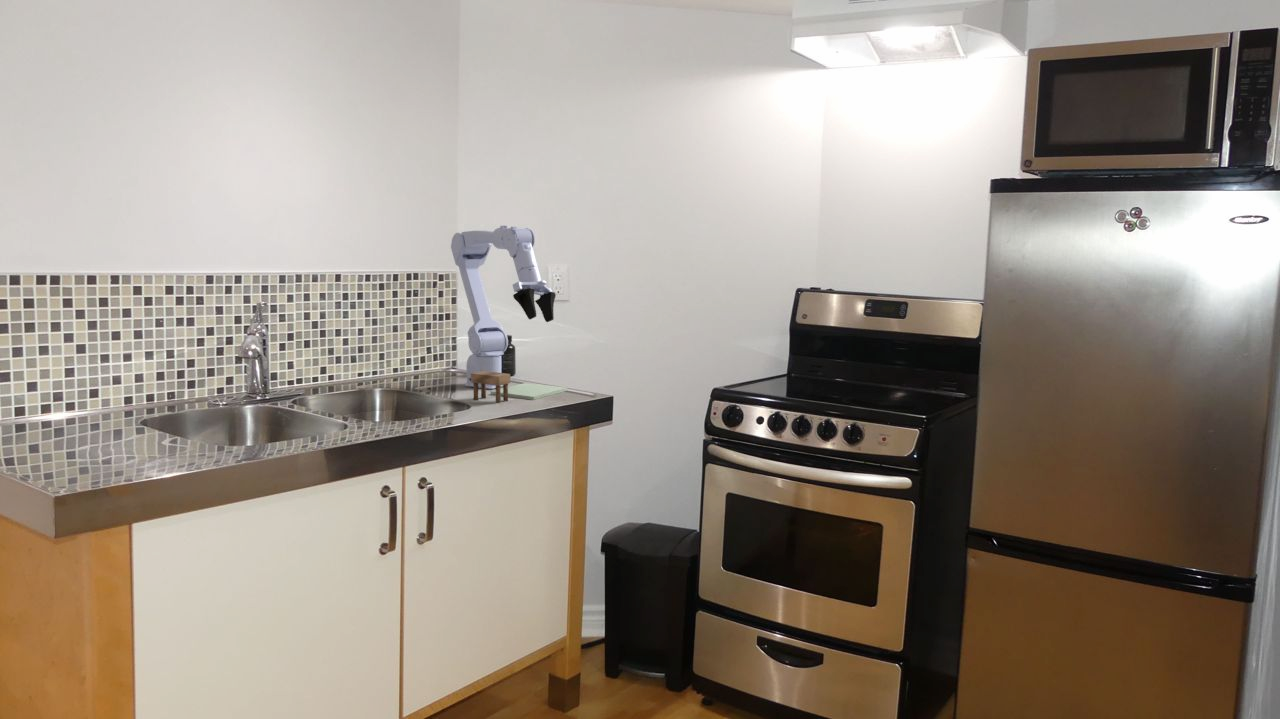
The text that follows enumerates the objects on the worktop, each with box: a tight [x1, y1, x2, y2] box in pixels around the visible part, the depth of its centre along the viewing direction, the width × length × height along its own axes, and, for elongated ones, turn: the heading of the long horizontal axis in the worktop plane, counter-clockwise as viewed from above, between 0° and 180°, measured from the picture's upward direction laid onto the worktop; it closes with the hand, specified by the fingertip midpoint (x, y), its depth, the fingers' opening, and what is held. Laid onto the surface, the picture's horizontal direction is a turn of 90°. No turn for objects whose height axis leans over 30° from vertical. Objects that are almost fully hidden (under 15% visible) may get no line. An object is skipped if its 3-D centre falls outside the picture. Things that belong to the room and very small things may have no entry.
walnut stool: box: [471, 371, 511, 404], centre depth 251 cm, size 9×5×7 cm, turn 61°
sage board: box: [490, 382, 568, 401], centre depth 264 cm, size 14×16×1 cm
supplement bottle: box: [501, 334, 517, 377], centre depth 291 cm, size 7×7×12 cm
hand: (541, 319), depth 248 cm, fingers open, 7 cm apart
